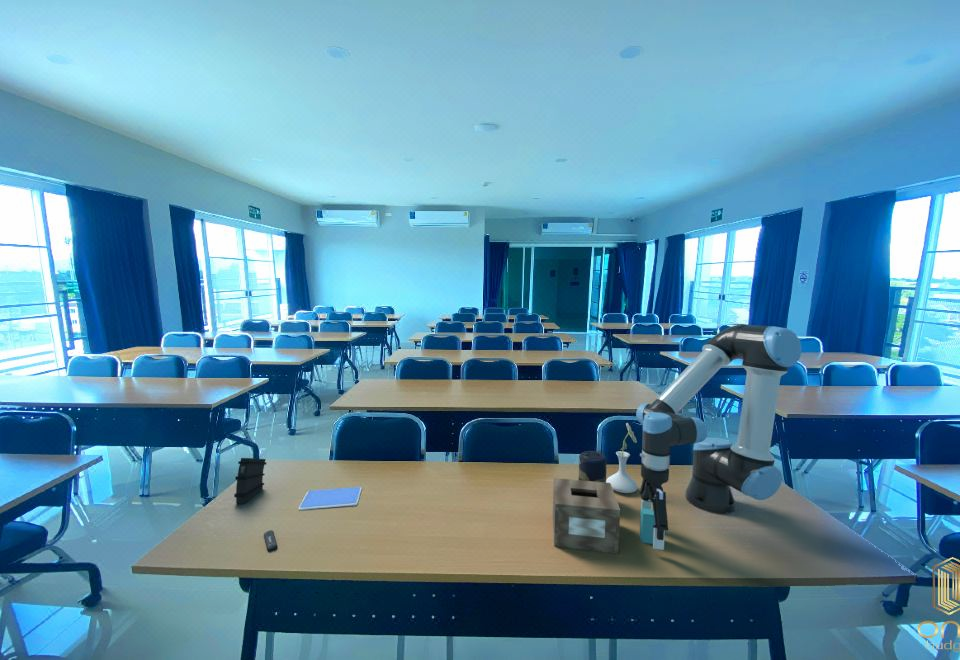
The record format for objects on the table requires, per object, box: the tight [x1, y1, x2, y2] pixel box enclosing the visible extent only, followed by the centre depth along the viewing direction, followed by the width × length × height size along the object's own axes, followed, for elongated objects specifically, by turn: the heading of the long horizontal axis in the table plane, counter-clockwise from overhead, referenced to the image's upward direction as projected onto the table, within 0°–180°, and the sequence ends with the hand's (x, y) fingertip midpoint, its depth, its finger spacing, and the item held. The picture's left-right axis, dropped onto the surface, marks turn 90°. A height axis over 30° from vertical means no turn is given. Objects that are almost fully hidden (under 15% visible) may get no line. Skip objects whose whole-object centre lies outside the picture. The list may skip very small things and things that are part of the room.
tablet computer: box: [297, 486, 363, 511], centre depth 135 cm, size 19×13×1 cm, turn 100°
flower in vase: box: [606, 422, 638, 494], centre depth 144 cm, size 13×11×25 cm
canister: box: [578, 450, 607, 483], centre depth 135 cm, size 10×10×18 cm
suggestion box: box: [552, 477, 621, 555], centre depth 116 cm, size 18×16×13 cm
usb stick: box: [263, 529, 279, 552], centre depth 111 cm, size 10×3×2 cm, turn 36°
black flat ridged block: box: [233, 457, 267, 505], centre depth 136 cm, size 4×13×15 cm, turn 179°
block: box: [638, 508, 655, 545], centre depth 113 cm, size 6×3×9 cm, turn 80°
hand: (651, 533), depth 113 cm, fingers open, 13 cm apart
